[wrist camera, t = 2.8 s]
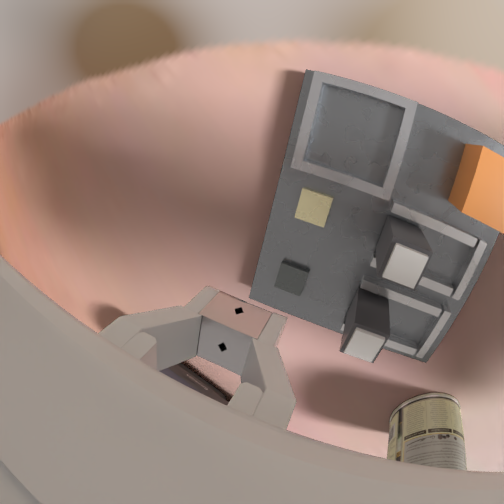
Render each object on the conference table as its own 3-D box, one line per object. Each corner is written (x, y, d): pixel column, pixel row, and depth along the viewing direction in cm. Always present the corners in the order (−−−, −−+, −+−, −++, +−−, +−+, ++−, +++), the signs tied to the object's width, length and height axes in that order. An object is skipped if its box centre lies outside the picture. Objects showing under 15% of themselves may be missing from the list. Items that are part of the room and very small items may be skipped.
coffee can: (463, 424, 29) (468, 508, 16) (398, 443, 34) (387, 525, 21) (456, 381, 27) (468, 480, 15) (380, 404, 32) (367, 501, 20)
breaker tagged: (420, 228, 22) (434, 255, 17) (406, 260, 23) (415, 294, 18) (388, 215, 22) (394, 238, 17) (375, 248, 24) (376, 279, 19)
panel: (514, 156, 18) (530, 159, 15) (424, 350, 27) (427, 370, 25) (310, 74, 22) (302, 66, 20) (255, 288, 32) (244, 303, 29)
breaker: (388, 298, 25) (390, 338, 20) (375, 324, 26) (372, 366, 21) (358, 287, 25) (354, 325, 20) (346, 314, 27) (338, 354, 22)
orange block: (511, 169, 17) (533, 176, 13) (493, 223, 19) (511, 238, 16) (465, 143, 18) (483, 145, 14) (447, 200, 20) (461, 212, 17)
